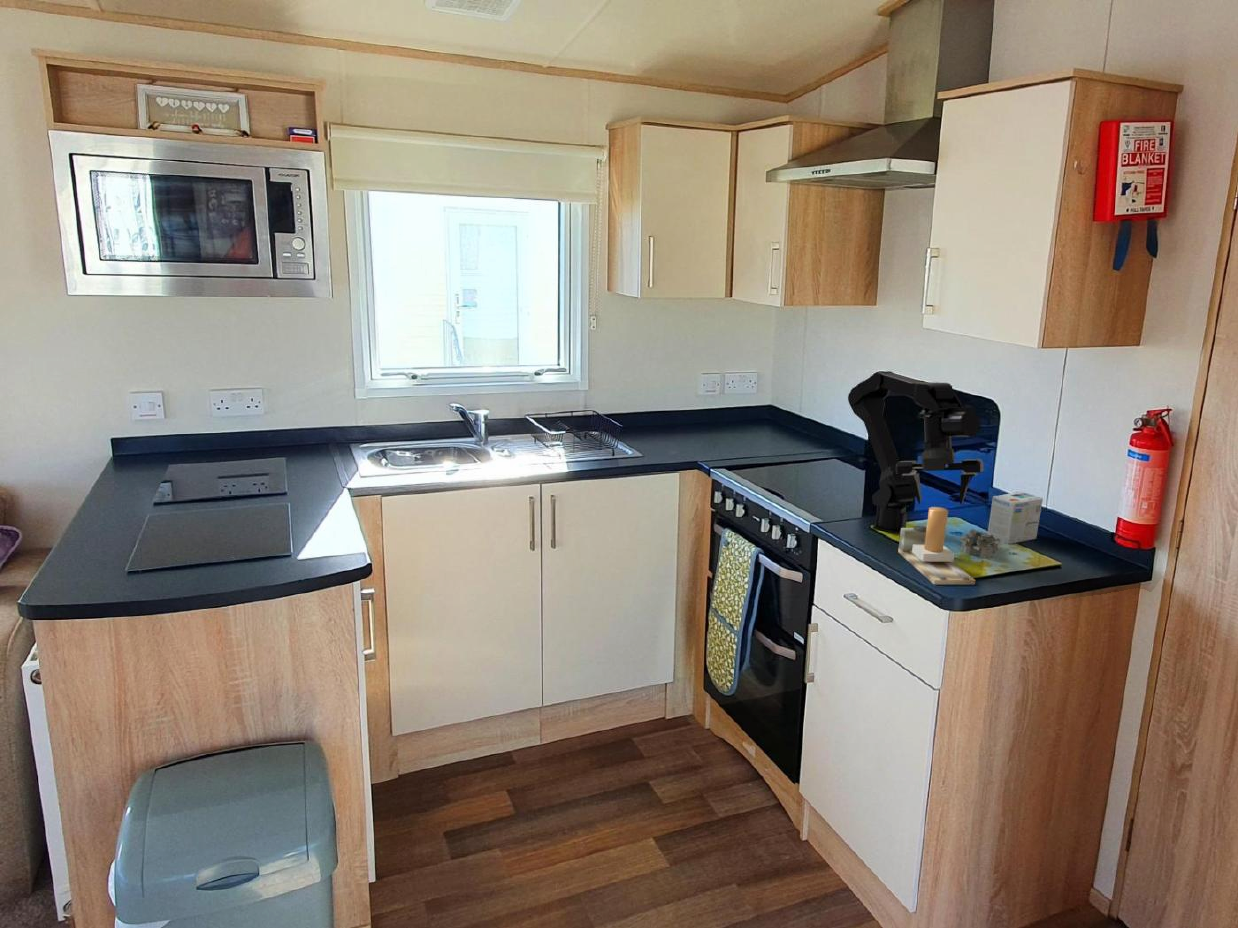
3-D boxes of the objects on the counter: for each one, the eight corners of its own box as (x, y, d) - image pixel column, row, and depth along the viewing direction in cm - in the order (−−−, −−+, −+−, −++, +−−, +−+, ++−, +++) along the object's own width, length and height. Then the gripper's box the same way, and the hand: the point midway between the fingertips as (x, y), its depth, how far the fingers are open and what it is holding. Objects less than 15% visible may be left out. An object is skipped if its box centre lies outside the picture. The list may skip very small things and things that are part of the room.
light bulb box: (1014, 531, 220) (1020, 490, 217) (1037, 539, 214) (1044, 497, 211) (985, 536, 215) (991, 495, 212) (1008, 545, 209) (1015, 502, 206)
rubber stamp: (911, 551, 196) (917, 505, 193) (941, 552, 197) (947, 505, 194) (922, 561, 190) (929, 513, 187) (953, 561, 191) (960, 514, 188)
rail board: (897, 551, 202) (900, 525, 200) (934, 551, 203) (937, 525, 201) (933, 584, 182) (937, 556, 181) (974, 584, 183) (978, 556, 182)
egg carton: (988, 561, 198) (991, 544, 197) (955, 553, 203) (958, 536, 202) (1002, 549, 206) (1004, 533, 205) (970, 541, 211) (972, 525, 210)
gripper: (888, 440, 198) (891, 507, 199) (975, 436, 189) (978, 507, 189) (899, 438, 208) (902, 502, 208) (982, 434, 198) (985, 502, 199)
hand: (940, 503), depth 201 cm, fingers open, 9 cm apart
